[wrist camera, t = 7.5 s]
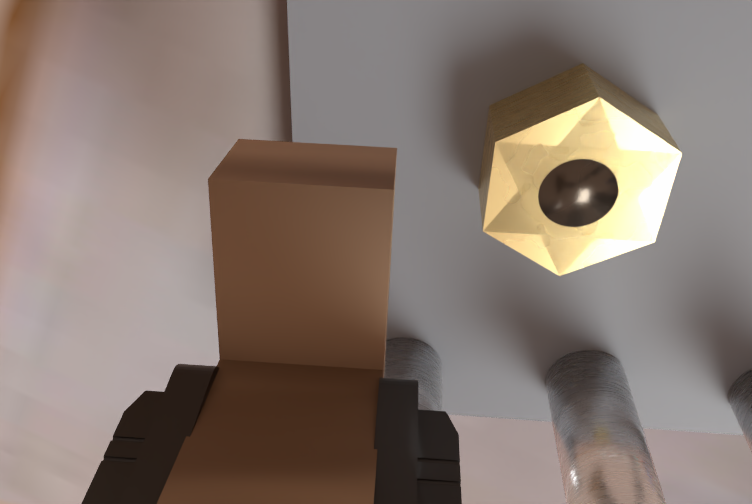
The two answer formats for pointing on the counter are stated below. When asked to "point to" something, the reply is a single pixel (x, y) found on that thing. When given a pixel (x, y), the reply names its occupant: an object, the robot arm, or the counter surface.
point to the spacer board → (507, 266)
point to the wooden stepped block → (294, 327)
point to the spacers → (579, 420)
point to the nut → (575, 171)
